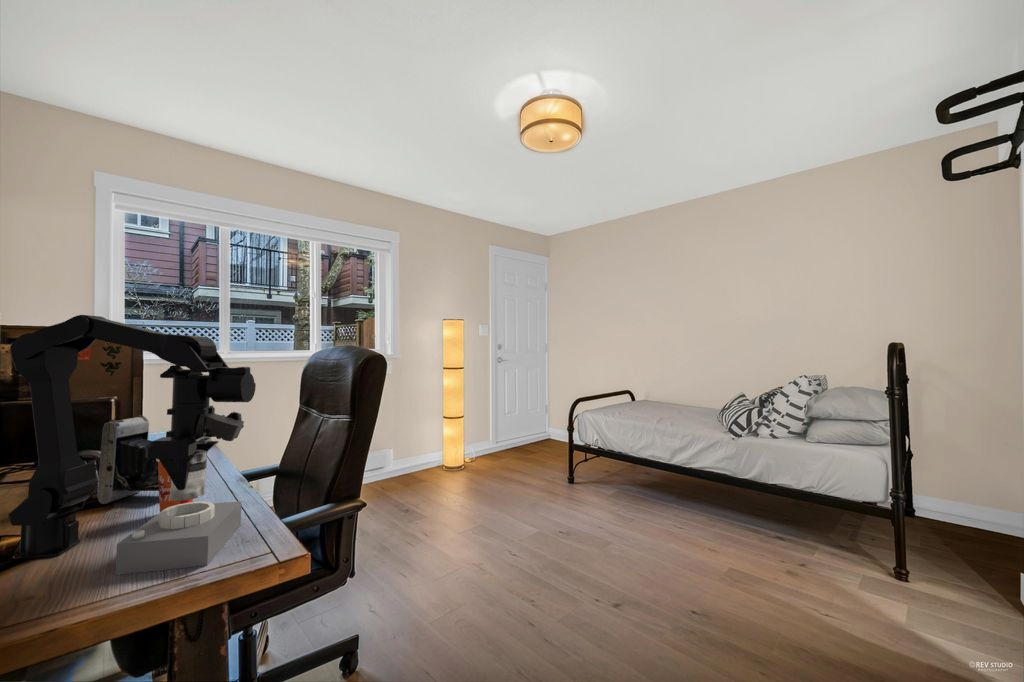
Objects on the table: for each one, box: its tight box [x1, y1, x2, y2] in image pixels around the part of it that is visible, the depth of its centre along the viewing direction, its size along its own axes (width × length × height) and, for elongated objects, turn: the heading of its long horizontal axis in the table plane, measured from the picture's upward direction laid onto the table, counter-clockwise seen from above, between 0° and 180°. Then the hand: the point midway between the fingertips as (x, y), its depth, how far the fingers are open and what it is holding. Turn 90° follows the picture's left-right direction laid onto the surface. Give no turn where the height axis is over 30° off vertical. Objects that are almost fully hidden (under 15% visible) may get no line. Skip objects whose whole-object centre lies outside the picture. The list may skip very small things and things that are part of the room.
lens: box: [170, 450, 208, 500], centre depth 82 cm, size 5×5×8 cm
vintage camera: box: [96, 415, 159, 505], centre depth 108 cm, size 10×16×20 cm, turn 89°
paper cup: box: [156, 459, 194, 513], centre depth 98 cm, size 8×8×14 cm
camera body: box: [115, 500, 242, 576], centre depth 82 cm, size 13×18×7 cm
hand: (187, 485), depth 82 cm, fingers closed on lens, 5 cm apart
